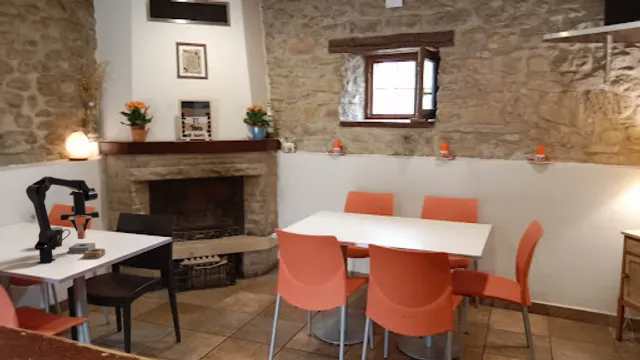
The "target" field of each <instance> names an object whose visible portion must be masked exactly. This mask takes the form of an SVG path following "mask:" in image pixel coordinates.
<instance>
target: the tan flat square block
mask: <svg viewBox="0 0 640 360" xmlns="http://www.w3.org/2000/svg"><path fill="white" fill-rule="evenodd" d="M105 255H106V248H95V249H89V250H87V251H86V252H84V253H83V259H85V260H86V259H101V258H103V257H104V256H105Z"/></svg>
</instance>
